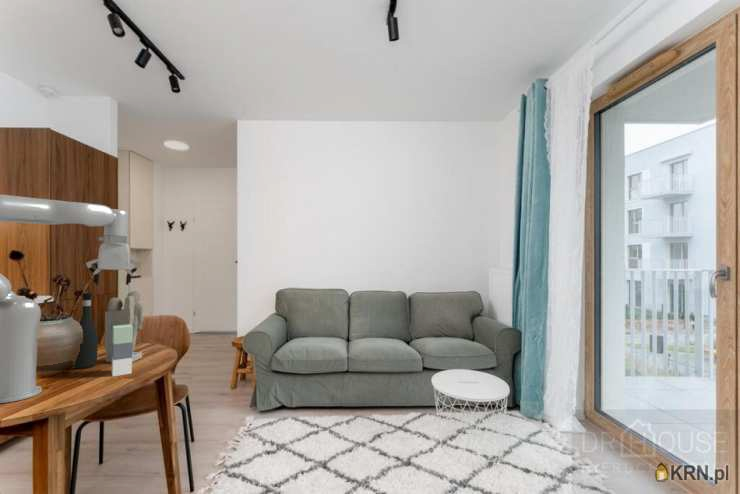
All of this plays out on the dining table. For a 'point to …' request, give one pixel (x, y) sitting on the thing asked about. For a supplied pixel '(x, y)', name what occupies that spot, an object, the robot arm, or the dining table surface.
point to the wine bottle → (87, 337)
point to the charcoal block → (121, 351)
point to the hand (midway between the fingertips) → (112, 284)
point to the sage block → (122, 334)
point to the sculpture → (123, 321)
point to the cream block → (121, 366)
